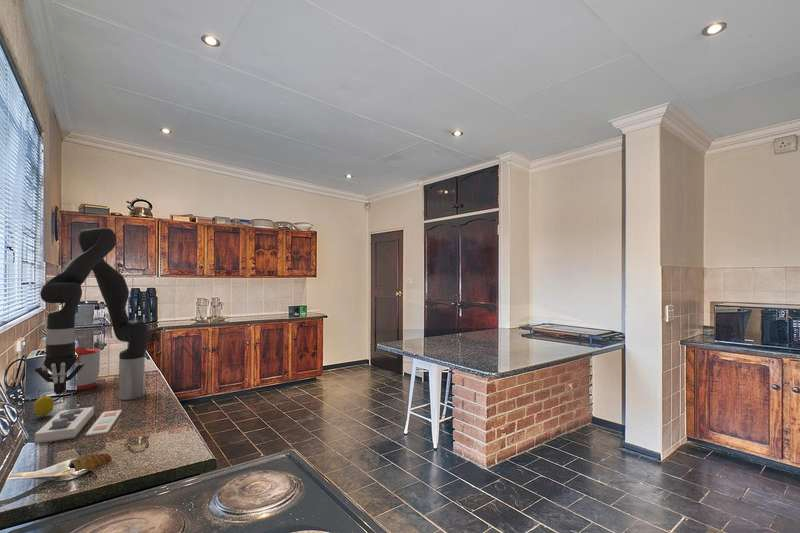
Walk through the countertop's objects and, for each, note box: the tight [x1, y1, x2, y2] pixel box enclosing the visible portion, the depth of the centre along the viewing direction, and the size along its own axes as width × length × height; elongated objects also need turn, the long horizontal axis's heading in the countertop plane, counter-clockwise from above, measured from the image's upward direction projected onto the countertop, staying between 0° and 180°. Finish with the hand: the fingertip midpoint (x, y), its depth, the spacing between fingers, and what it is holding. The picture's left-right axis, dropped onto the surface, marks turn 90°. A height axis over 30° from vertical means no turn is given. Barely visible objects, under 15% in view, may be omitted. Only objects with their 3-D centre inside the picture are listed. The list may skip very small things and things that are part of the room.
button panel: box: [34, 406, 95, 444], centre depth 138 cm, size 10×23×3 cm, turn 25°
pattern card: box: [85, 409, 123, 437], centre depth 143 cm, size 6×23×1 cm, turn 25°
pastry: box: [67, 453, 112, 473], centre depth 111 cm, size 9×7×4 cm
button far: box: [67, 408, 81, 414], centre depth 145 cm, size 4×4×3 cm
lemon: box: [33, 395, 55, 418], centre depth 149 cm, size 6×6×8 cm
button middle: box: [60, 411, 75, 421], centre depth 138 cm, size 4×4×3 cm
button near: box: [52, 418, 68, 430], centre depth 132 cm, size 4×4×3 cm
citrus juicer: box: [75, 345, 101, 391], centre depth 184 cm, size 16×17×20 cm
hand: (59, 393), depth 132 cm, fingers closed
